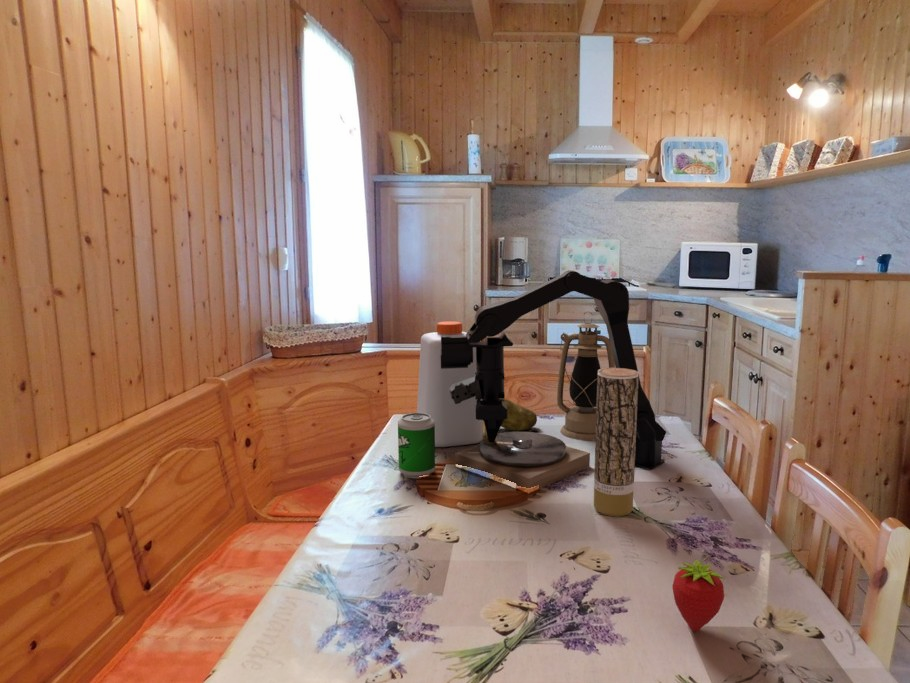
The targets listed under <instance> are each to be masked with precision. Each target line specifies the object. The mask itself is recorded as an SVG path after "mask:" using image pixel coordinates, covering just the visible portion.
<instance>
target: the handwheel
mask: <svg viewBox="0 0 910 683" xmlns="http://www.w3.org/2000/svg"><path fill="white" fill-rule="evenodd" d="M479 445H480V454H481V456H482V457H483V458H485V459H487V460H489V461H491V462H494V463H497V464H501V465H506V466H514V467H539V466H546V465H550V464H554V463H557V462H559V461H561V460H562V459H563V458H564V457H565V456H566V446H567V445H566V442H564V441H563V440H561V439H560V438H558V437H555V436H552V435H549V434H545V433H539V432H534V431H533V432H532V431H507V432H498V434H497V436H496V439H495V441H494V442H489V441H488V436H487V432H486V428H485V424H484V421H483V420H482V440H481V442H479Z"/></svg>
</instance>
